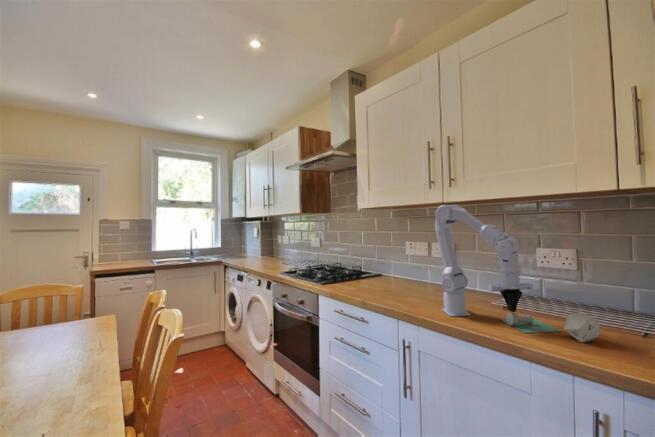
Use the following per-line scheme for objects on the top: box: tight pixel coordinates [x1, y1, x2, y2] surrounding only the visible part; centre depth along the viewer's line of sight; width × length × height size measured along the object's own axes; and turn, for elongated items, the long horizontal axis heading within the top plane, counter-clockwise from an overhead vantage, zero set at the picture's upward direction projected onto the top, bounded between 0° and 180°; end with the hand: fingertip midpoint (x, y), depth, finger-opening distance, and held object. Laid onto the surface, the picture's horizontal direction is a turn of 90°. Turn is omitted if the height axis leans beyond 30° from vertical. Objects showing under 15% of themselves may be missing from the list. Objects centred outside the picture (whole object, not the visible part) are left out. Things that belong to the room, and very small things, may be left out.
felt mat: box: [500, 317, 562, 334], centre depth 106 cm, size 14×12×1 cm
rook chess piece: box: [505, 312, 534, 327], centre depth 106 cm, size 4×4×8 cm
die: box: [563, 311, 601, 343], centre depth 92 cm, size 8×9×10 cm
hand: (512, 311), depth 106 cm, fingers closed
